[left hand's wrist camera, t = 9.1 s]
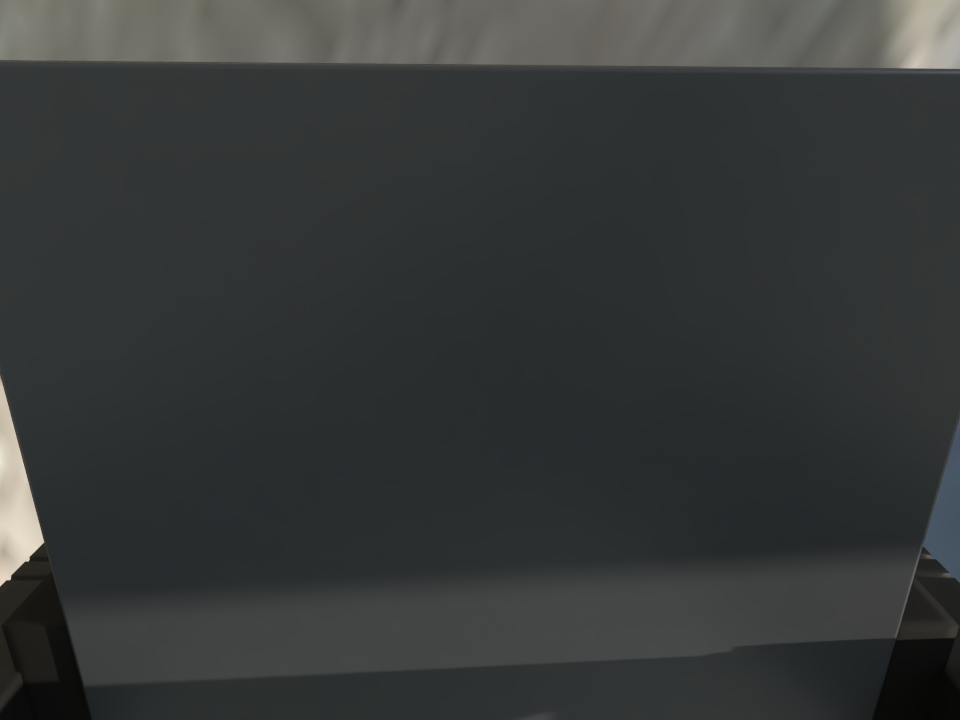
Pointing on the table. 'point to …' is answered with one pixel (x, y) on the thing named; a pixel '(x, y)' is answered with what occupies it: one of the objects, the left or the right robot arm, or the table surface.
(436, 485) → the wide beam
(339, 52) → the table surface
